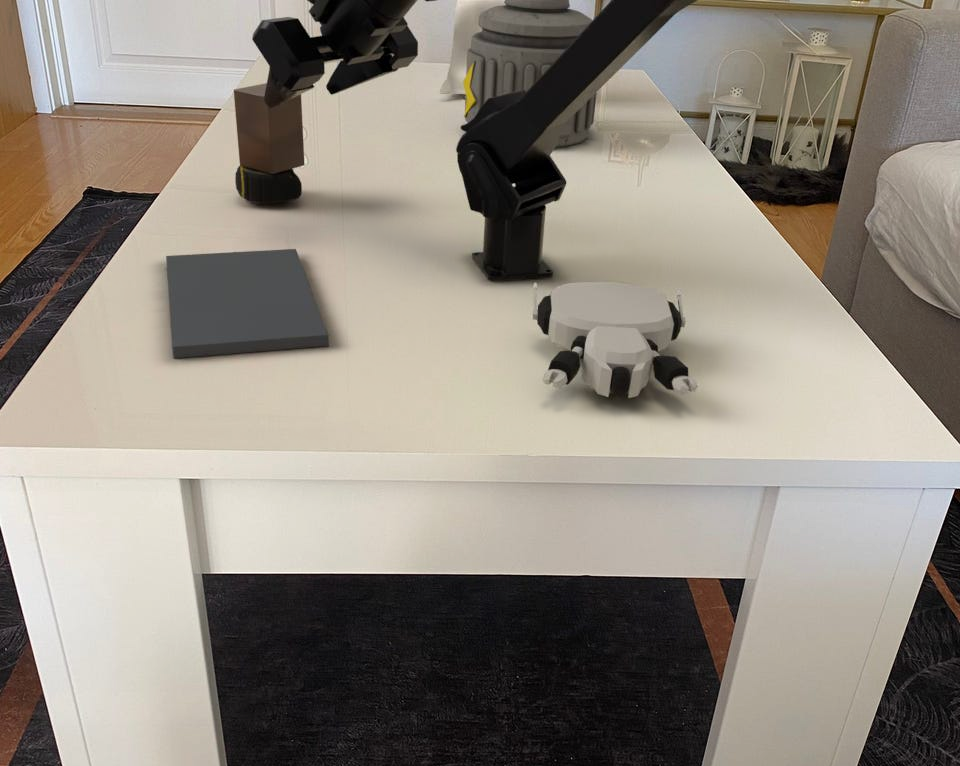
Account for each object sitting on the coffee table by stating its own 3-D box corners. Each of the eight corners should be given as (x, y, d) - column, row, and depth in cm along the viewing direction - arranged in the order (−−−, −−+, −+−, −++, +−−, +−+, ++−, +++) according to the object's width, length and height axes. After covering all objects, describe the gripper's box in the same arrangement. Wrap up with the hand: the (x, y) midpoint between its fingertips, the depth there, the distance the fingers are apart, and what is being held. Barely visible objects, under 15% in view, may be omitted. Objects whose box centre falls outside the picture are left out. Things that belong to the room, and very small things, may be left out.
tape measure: (303, 208, 108) (302, 174, 106) (240, 211, 106) (237, 176, 104) (294, 190, 114) (292, 157, 112) (233, 192, 112) (231, 159, 110)
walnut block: (304, 165, 109) (301, 89, 105) (272, 174, 106) (267, 96, 101) (272, 156, 111) (267, 82, 107) (239, 165, 108) (233, 89, 104)
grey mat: (328, 346, 79) (328, 334, 79) (173, 358, 76) (172, 346, 75) (296, 258, 95) (295, 248, 95) (167, 265, 92) (166, 255, 92)
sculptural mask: (434, 99, 157) (436, -15, 148) (465, 86, 166) (468, -21, 158) (534, 113, 151) (542, -4, 143) (559, 99, 161) (569, -11, 152)
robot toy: (699, 425, 72) (672, 327, 84) (710, 372, 70) (680, 279, 82) (533, 417, 72) (529, 320, 84) (538, 364, 70) (533, 271, 82)
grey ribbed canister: (616, 146, 138) (645, -101, 122) (492, 153, 131) (505, -106, 115) (558, 115, 152) (577, -109, 136) (444, 120, 146) (450, -114, 130)
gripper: (396, -84, 97) (317, 22, 108) (259, -80, 84) (185, 40, 95) (458, 12, 98) (373, 108, 109) (331, 31, 85) (249, 138, 96)
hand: (299, 97), depth 102 cm, fingers open, 9 cm apart
